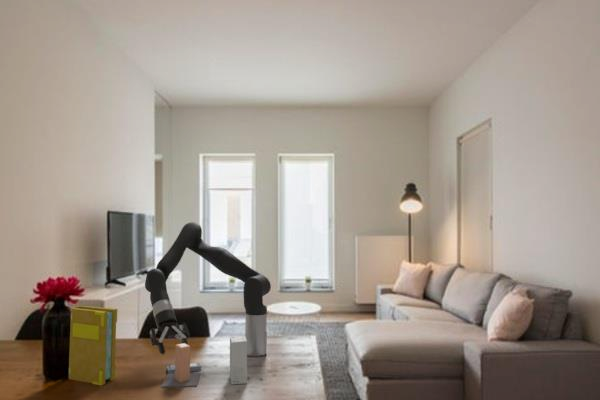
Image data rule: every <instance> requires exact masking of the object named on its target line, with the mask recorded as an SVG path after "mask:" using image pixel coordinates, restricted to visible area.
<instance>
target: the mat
mask: <svg viewBox="0 0 600 400" xmlns="http://www.w3.org/2000/svg"><path fill="white" fill-rule="evenodd" d="M201 374H202V373H201V372H190V380H188V381H184V382H179V381H178V380H176V379H175V373H173V374H168V373H167V374H166V377H165V378H164V380H163V382H162V385H161V388H162V389H163V388H183V387H184V388H186V387H192V388H193V387H198V385H199V381H200V378H201Z"/></svg>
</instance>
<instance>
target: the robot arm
mask: <svg viewBox="0 0 600 400" xmlns="http://www.w3.org/2000/svg"><path fill="white" fill-rule="evenodd" d="M202 230H203V229H202V227H201V225H200V224H199V223H197V222H193V221H191V222H188V223H186V224H184V226H183V227H182V228H181V230H180V232H179V234H178V236H177V237H176V239H175V240H174V242H173V243H172V245H171V246H170V248H169V249H168V250H167V252H166V253H165V254H164V255H163V257H162V258H161V259H160V260H159V262H157V264H156V267H155V268H151V269H149V270H148V272H147V273H146V277H145V281H144V288H145V289H146V291H147V292H148V293H150V294H149V299H150V303H151V308H152V313H153V317H154V322H155V325H156V327H157V328H155V327H152V328H151V329H150V330H149V337H150V342H151V345H152V346H157V348H158V352H159V353H160V354H161V355H162V356H163V355H165V353H166V348H165V345H164V342H163V340H164V339H166V340H167V339H172V338H176V340H179V341H181V344H182V343H186V344H187V345H189V343H188V340H189V338H190V336H191V333H190V330H189V328H188V325H187V323H186V322H182V324H180V325H179V324H178V321H177V318H176V314H175V311H174V310H175V309H174V307H173V305H172V303H171V300H170V297H169V293H168V290H167V289H168V288H167V283H166V282H167V280H168V278H169V276H170V275H171V274H172V272H174V270H175V269H176V268H177V266H178V265H179V263H180V262H181V260H182V259H183V256H184V254H185V251H186V249H189V250H190V251H192V252H194V253H195V254H196V255H199V256H200V257H201V258H202V259H204V260H205V261H207V262H208V263H210V265H212V266H213V267H215V268H216V269H217V270H219V271H220V272H221V273H223V274H225V275H226V276H229V277H232V278H234V279H237V280H240V281H242V282H243V283H244V284H243V308H244V309H245V322H244V323H245V327H244V330H245V331H244V332H245V333H244V336H245V337H246V340H247V357H248V356H249V357H262V356H266V355H267V352H268V351H267V348H268V347H267V345H268V341H267V340H268V331H267V325H268V324H267V323H268V321H267V320H268V307H267V306H266V305H264V300H263V297H264V296H266V295H267V294H269V292H270V291H271V288H272V285H271V282H270V279H269V278H268V277H267V276H265V275H264V274H262V273H260V272H258V271H257V270H255V269H253V268H252V267H250V266H248V265H247V264H246V263H244V262H243V261H242V260H240V258H238V257H236V256H235V255H234V254H233V253H231V252H230V251H229V250H228V249H226V248H224V247H220V246H211V245H210V244H208V243H206V242H205V241H204V240H203V239H202V238H203V237H202V235H203V232H202ZM157 334H158V335H160V337H159V339H157ZM265 354H266V355H265ZM261 355H262V356H261Z"/></svg>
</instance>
